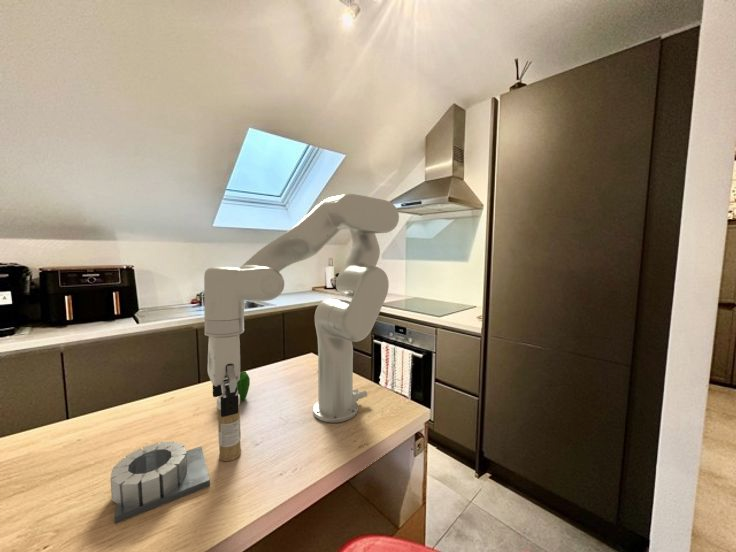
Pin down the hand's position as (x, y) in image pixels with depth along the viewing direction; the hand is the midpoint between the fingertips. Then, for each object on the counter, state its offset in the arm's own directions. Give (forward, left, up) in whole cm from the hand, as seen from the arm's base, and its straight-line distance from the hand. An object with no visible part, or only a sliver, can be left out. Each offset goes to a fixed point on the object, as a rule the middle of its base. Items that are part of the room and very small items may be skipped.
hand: (224, 404), depth 65 cm
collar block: (+12, +1, -12) cm, 17 cm away
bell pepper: (-7, -25, -12) cm, 29 cm away
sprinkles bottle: (-1, 0, -12) cm, 12 cm away
